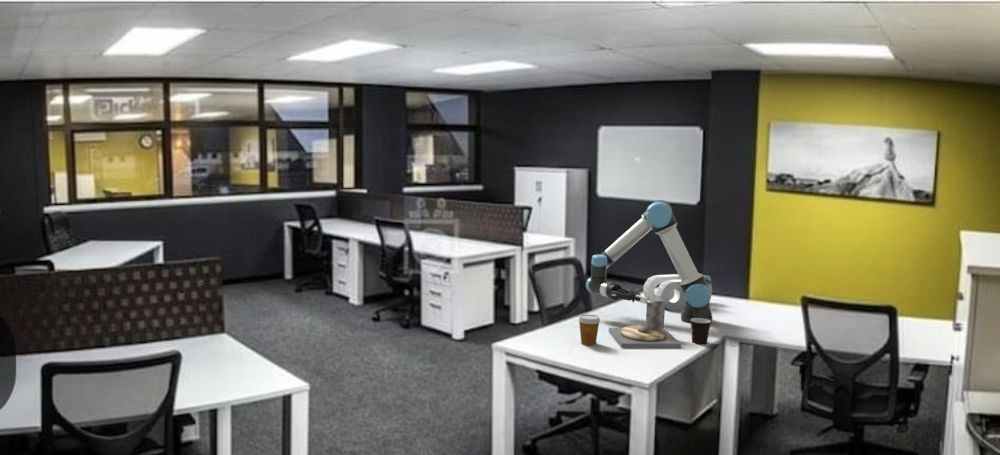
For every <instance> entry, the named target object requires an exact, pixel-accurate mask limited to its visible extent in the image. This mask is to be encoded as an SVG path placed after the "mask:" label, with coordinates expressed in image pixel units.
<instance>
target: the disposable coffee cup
mask: <svg viewBox="0 0 1000 455" xmlns="http://www.w3.org/2000/svg"><path fill="white" fill-rule="evenodd" d="M600 323H601V319H600V316H599V315H597V314H589V313H585V314H581V315H579V317H578V324H579V332H580V334H579V335H580V343H581V344H582V345H584V346H595V345H596V344H597V338H598V331H599V325H600Z"/></svg>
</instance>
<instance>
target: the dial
mask: <svg viewBox="0 0 1000 455" xmlns="http://www.w3.org/2000/svg"><path fill="white" fill-rule="evenodd" d="M665 311H666V308H665V300H657V301H648V302H647V303H646V313H645V314H646V315H645V325H629V326H624V327H621V328H622V329H621V335H622V336H624V337H626V338H630V339H634V340H641V341H657V340H662V339H665V338H666V334H667V333H666V331H664V330H662V329H663V328H665Z"/></svg>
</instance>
